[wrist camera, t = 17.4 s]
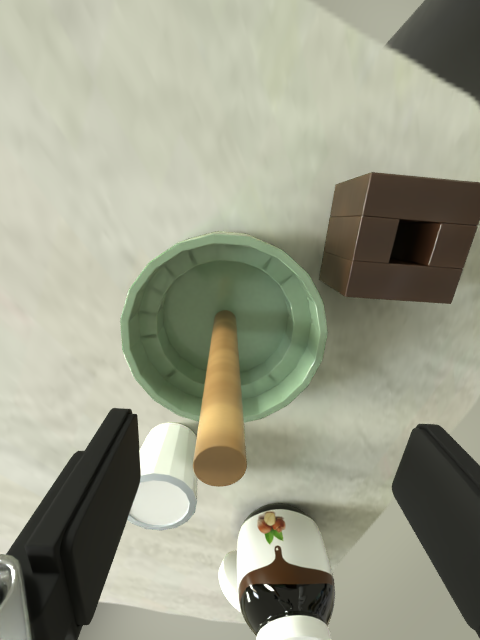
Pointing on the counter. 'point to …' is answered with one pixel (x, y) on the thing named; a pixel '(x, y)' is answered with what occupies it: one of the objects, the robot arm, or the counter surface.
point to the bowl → (198, 318)
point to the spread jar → (280, 575)
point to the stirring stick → (221, 410)
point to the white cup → (166, 479)
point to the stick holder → (400, 237)
